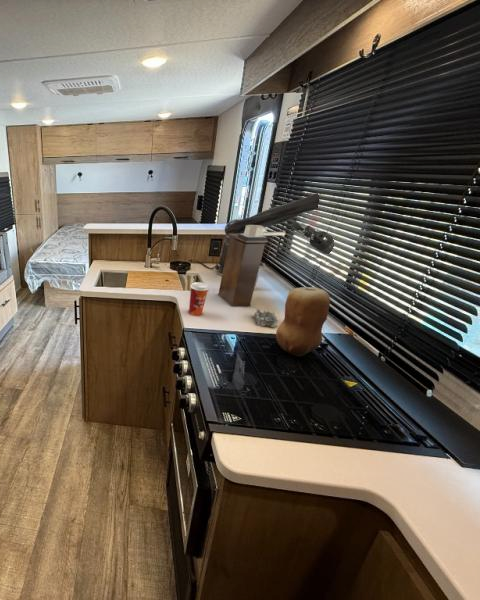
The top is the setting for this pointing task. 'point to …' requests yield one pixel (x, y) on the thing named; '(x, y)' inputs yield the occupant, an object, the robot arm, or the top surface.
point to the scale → (252, 238)
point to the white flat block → (258, 231)
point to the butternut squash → (303, 320)
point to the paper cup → (197, 298)
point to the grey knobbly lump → (265, 318)
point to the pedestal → (240, 270)
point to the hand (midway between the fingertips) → (299, 225)
